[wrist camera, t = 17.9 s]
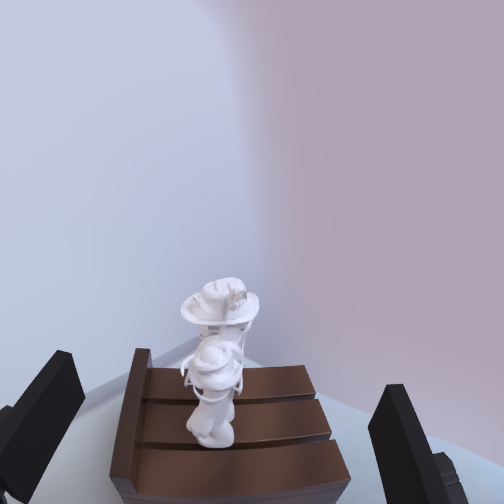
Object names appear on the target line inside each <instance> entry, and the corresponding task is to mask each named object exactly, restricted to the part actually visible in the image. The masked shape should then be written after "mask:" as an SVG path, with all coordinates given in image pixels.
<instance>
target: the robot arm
mask: <svg viewBox="0 0 504 504" xmlns="http://www.w3.org/2000/svg"><path fill="white" fill-rule="evenodd" d="M85 398H86V397H85V395H84V392H83V389H82V386H81V383H80V380H79V377H78V374H77V370H76V367H75V364H74V361H73V357H72V354H71V353H68V352H64V351H60V350H57V351H56V352H55V354H54V355H53V356H52V357H51V359H50V360H49V361H48V362H47V363H46V365H45V366H44V367H43V369H42V370H41V371H40V372H39V374H38V375H37V376H36V377H35V379H34V380H33V381H32V383H31V384H30V385H29V387H28V388H27V389H26V390H25V392H24V393H23V395H22V396H21V397H20V399H19V400H18V401H17V403H16V404H15V405H14V407H11V406H8V405H7V406H5V407H4V408H2V409H1V410H0V504H7V501H6V498H5V496H4V493H5V491H7V492H8V493H9V494H10V495H11V496H12V497H13V498H14V499H16V500H18V501H20V502H22V503H24V504H28V503H29V501H30V499H31V497H32V495H33V493H34V491H35V489H36V487H37V485H38V483H39V481H40V479H41V477H42V475H43V474H44V472H45V470H46V468H47V466H48V464H49V462H50V460H51V458H52V456H53V455H54V453H55V451H56V449H57V447H58V445H59V444H60V442H61V440H62V438H63V436H64V435H65V433H66V431H67V429H68V427H69V426H70V424H71V422H72V420H73V419H74V417H75V415H76V413H77V412H78V410H79V408H80V406H81V405H82V403H83V401H84V400H85ZM368 430H369V434H370V438H371V441H372V445H373V449H374V453H375V456H376V460H377V464H378V468H379V472H380V476H381V480H382V484H383V488H384V493H385V497H386V501H387V504H469V503H468V501H467V498H466V495H465V493H464V490H463V487H462V485H461V482H459V477H458V475H457V474H456V470H455V467H454V465H453V463H452V461H451V460H450V458H449V457H448V456H447V455H446V454H445V453H444V452H441V453H436V454H432V451H431V449H430V446H429V444H428V441H427V439H426V436H425V434H424V432H423V429H422V427H421V424H420V422H419V419H418V417H417V415H416V413H415V411H414V408H413V406H412V403H411V401H410V399H409V397H408V394H407V392H406V390H405V387H404V385H403V384H390V385H386V387H385V390H384V392H383V395H382V397H381V399H380V401H379V404H378V406H377V408H376V410H375V412H374V414H373V417H372V419H371V421H370V423H369V425H368Z"/></svg>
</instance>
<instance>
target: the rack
mask: <svg viewBox="0 0 504 504" xmlns="http://www.w3.org/2000/svg"><path fill="white" fill-rule="evenodd" d="M187 373H188V369H184V376H182V374H181V371H180V369H176V368H153V366H152V359H151V353H150V349H143V348H136V349H135V354H134V358H133V361H132V366H131V370H130V374H129V378H128V382H127V387H126V391H125V396H124V400H123V405H122V410H121V414H120V419H119V424H118V429H117V434H116V440H115V445H114V451H113V456H112V462H111V468H110V474H109V476H110V478H111V480H112V482H113V484H114V486H115V487H116V489H117V491H118V492H119V494H120V496H121V498H122V499H123V501H124V503H125V504H335V503H336V502H337V500H338V499H339V497H340V496H341V494H342V493H343V491H344V490H345V488H346V487H347V485H348V483H349V482H350V480H351V477H350V475H349V472H348V470H347V468H346V465H345V463H344V460H343V458H342V455H341V453H340V450H339V448H338V446H337V443H336V441H335V439H333V440H329V439H330V436H331V434H332V431H331V429H330V427H329V424H328V422H327V419H326V417H325V414H324V412H323V410H322V407H321V405H320V402H319V400H318V399H314V398H315V394H316V392H315V390H314V388H313V385H312V383H311V381H310V378H309V375H308V373H307V371H306V368H305V366H304V365H299V366H284V367H265V368H243V370H242V381H243V387H242V392H241V393H240V396H238V392H237V391H236V390H234V397H233V400H232V402H233V404H234V410H235V415H234V419H233V420H232V421H230V422H229V423H230V424H231V426H232V428H233V432H234V442H233V444H232V445H231V446H229V447H225V448H208V447H205V446H202V445H201V444H199V443H198V441H197V439H196V437H195V436H194V435H193V433H192V431H189V430H188V429H187V421H188V420H189V418H190V417H191V415H192V414H193V412H194V410H195V408H197V407H198V406H199V403H200V399H199V398H197V396H196V394H195V393H194V388H193V385H187V387H185V386H184V383H185V379H186V376H187ZM188 383H191V382H190V379H189V381H188ZM235 388H238V389H239V382H238V383H237V385H236V386H235ZM195 390H196V391H197V392H198V393H199V394H200V395H201V396H202V395H203V394H204V392H203V389H199V388H197V387H196V386H195ZM320 441H321V442H320ZM299 444H300V445H299ZM291 445H292V446H291ZM282 446H283V447H282ZM272 447H273V448H272ZM154 449H155V450H154ZM246 449H247V450H246ZM175 450H177V451H175ZM224 450H226V451H224Z"/></svg>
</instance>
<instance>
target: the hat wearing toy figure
mask: <svg viewBox="0 0 504 504" xmlns="http://www.w3.org/2000/svg"><path fill="white" fill-rule="evenodd" d="M258 310H259V299H258V297H257V296H256V295H255V294H254V293H248V292H247V291H246V288H245V286H244V284H243V282H242V281H241V280H240V279H238V278H232V277H229V278H223V279H218V280H215V281H211V282H209V283H207V284H205V285H204V288H203V289H202V291H201V292H197V293H196V294H194V295H193V296H191V297H189V298H188V299H187V300H186V301H185V302H184V303H183V305H182V307H181V314H182V316H183V317H184V318H185V319H186V320H187V321H189V322H191V323H194V324H198V325H200V327H201V330H202V334H200V339H201V340H202V342H200V344H199V346H198V348H197V351H196V353H194V354H192V355H190V356H189V357H187V358H186V359H185V360H184V361H183V362H182V364H181V366H180V371H181V374H182V376H184V369H185V366H186V365H187V364H188V363H190V362H191V363H190V364H189V369H188V373H187V376H186V379H185V383H184V386H185V387H187V385H193V388H194V393H195V394H196V396H197V398H199V399H200V403H199V406H198V407H197V408H195V410H194V412H193V414H192V415H191V417H190V418H189V420H188V421H187V429H188V430H189V431H192V433H193V435H194V436H195V437H196V439H197V441H198V443H199V444H201V445H202V446H205V447H208V448H225V447H229V446H231V445H232V444H233V442H234V432H233V428H232V426H231V424H230V423H229V422H230V421H232V420H233V419H234V415H235V410H234V404H233V402H232V400H233V397H234V390H236V391H237V392H238V396H240V393H241V392H242V387H243V381H242V370H243V357H244V345H245V339H246V337H247V334H248V332H249V330H250V328H251V326H252V320H253V319H254V318H255V317H256V315H257V313H258ZM242 345H243V346H242ZM241 348H242V351H241ZM239 363H240V364H241V366H240V365H239ZM189 379H190V382H191V383H188V381H189ZM238 382H239V389H238V388H235V386H236V385H237V383H238ZM195 386H196V387H197V388H199V389H203V392H204V394H203V395H202V396H201V395H200V394H199V393H198V392H197V391H196V390H195Z"/></svg>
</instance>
